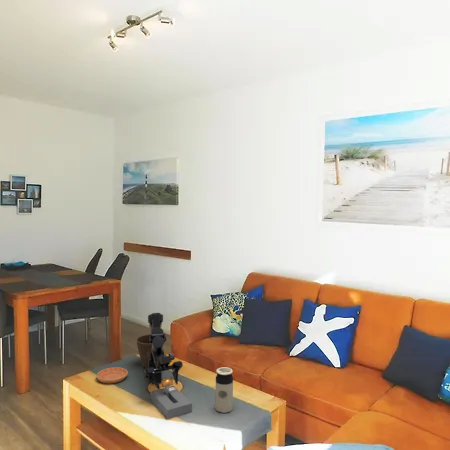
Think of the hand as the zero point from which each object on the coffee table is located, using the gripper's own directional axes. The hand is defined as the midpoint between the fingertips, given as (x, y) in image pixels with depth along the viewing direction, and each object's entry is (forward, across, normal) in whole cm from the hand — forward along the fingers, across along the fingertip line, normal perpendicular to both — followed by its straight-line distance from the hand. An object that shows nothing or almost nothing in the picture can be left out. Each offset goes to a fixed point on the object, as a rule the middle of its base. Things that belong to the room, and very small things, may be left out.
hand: (168, 386), depth 187 cm
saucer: (-22, -15, +34) cm, 43 cm away
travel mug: (+18, +20, -7) cm, 28 cm away
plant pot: (-26, +8, +37) cm, 46 cm away
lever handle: (+4, 0, +5) cm, 7 cm away
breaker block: (+8, 0, +4) cm, 8 cm away
